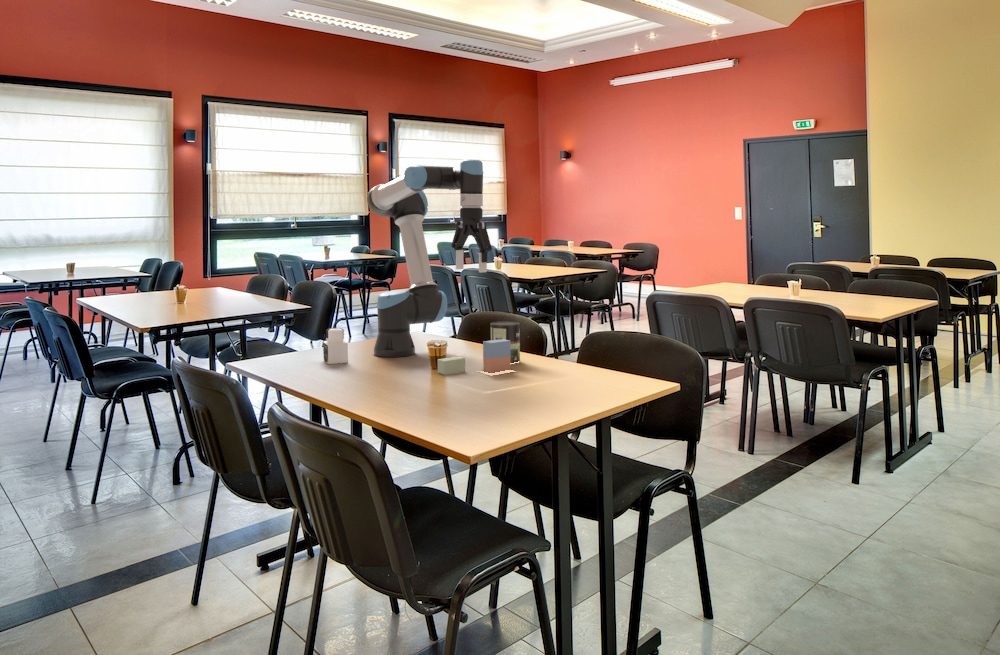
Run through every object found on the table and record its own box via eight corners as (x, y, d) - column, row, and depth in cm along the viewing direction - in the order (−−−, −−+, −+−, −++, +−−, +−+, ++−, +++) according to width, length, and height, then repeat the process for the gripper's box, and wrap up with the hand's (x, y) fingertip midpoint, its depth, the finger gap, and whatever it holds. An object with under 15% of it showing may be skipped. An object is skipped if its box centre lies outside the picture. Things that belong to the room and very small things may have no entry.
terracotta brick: (490, 374, 234) (490, 358, 234) (483, 372, 238) (483, 356, 237) (510, 370, 239) (510, 355, 238) (502, 368, 242) (502, 354, 242)
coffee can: (520, 360, 259) (520, 321, 257) (520, 366, 249) (520, 325, 247) (490, 360, 260) (490, 321, 257) (489, 366, 249) (489, 325, 247)
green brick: (444, 376, 234) (444, 361, 233) (437, 374, 237) (437, 359, 236) (465, 373, 239) (465, 358, 238) (458, 371, 242) (458, 356, 241)
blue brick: (490, 358, 234) (490, 343, 233) (483, 356, 237) (483, 341, 236) (510, 355, 238) (510, 340, 238) (503, 354, 242) (503, 339, 241)
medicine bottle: (323, 361, 259) (322, 327, 258) (343, 359, 262) (342, 326, 261) (327, 364, 253) (326, 330, 251) (348, 362, 256) (347, 328, 254)
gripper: (441, 206, 253) (441, 268, 257) (484, 207, 233) (483, 274, 237) (459, 206, 258) (459, 267, 261) (502, 207, 238) (502, 273, 242)
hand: (470, 270), depth 249 cm, fingers open, 13 cm apart
